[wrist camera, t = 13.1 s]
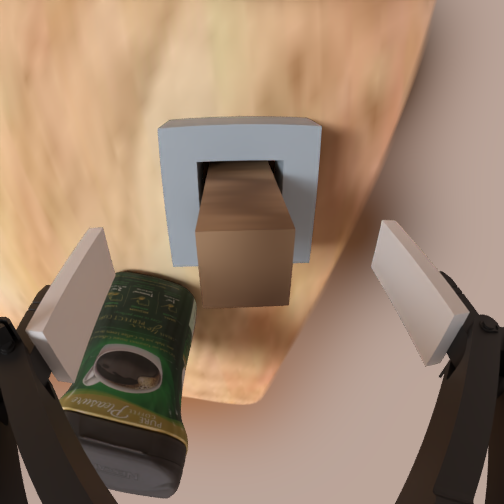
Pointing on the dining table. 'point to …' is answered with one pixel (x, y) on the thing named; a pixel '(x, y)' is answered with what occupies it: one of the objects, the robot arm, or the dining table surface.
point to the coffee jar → (135, 386)
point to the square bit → (244, 237)
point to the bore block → (234, 149)
